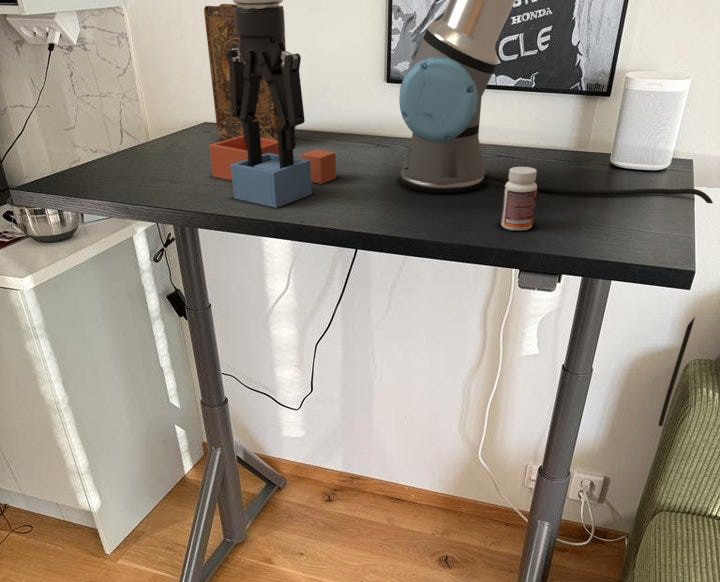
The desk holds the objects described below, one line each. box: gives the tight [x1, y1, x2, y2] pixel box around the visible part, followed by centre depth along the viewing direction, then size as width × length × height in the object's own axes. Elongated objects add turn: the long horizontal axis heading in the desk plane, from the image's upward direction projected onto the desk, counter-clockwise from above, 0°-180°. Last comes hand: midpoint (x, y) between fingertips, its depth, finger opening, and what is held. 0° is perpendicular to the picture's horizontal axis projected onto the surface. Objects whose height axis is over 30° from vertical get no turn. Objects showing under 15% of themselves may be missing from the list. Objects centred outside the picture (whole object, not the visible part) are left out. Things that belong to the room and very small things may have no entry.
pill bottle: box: [500, 166, 538, 232], centre depth 110 cm, size 5×5×8 cm
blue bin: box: [231, 153, 313, 209], centre depth 125 cm, size 10×10×6 cm
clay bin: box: [208, 135, 279, 182], centre depth 136 cm, size 10×10×6 cm
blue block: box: [254, 160, 280, 171], centre depth 125 cm, size 4×4×4 cm
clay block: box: [300, 149, 337, 185], centre depth 134 cm, size 4×4×4 cm
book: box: [203, 3, 288, 141], centre depth 152 cm, size 16×6×25 cm, turn 63°
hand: (271, 166), depth 124 cm, fingers open, 6 cm apart
